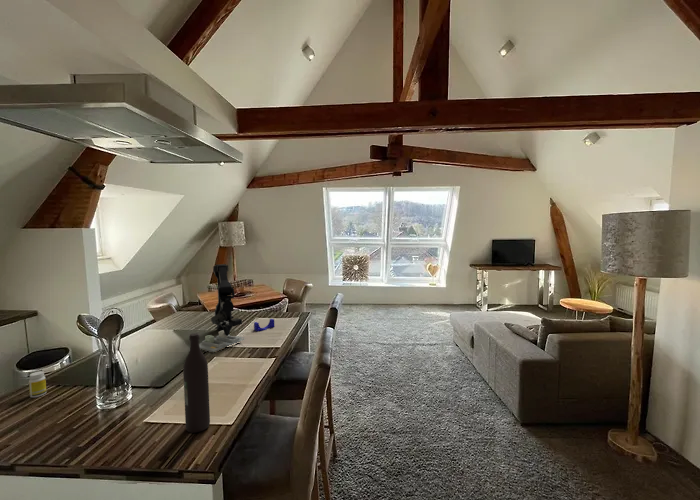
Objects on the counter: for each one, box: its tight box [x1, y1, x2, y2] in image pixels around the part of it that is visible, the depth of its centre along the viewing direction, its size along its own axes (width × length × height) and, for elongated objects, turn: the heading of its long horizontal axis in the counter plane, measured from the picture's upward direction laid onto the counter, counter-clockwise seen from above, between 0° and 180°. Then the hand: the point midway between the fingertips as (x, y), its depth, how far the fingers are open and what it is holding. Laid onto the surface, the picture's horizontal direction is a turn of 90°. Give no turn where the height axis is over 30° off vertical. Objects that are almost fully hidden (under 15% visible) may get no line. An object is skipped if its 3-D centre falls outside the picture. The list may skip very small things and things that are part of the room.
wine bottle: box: [182, 332, 211, 434], centre depth 107 cm, size 7×7×30 cm
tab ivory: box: [218, 330, 228, 338], centre depth 190 cm, size 4×3×4 cm, turn 60°
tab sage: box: [204, 334, 215, 343], centre depth 182 cm, size 4×3×4 cm, turn 60°
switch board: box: [199, 334, 245, 353], centre depth 184 cm, size 16×22×3 cm
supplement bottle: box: [28, 370, 48, 398], centre depth 130 cm, size 5×5×8 cm
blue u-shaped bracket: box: [253, 318, 275, 333], centre depth 207 cm, size 12×4×6 cm, turn 132°
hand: (227, 335), depth 188 cm, fingers closed
